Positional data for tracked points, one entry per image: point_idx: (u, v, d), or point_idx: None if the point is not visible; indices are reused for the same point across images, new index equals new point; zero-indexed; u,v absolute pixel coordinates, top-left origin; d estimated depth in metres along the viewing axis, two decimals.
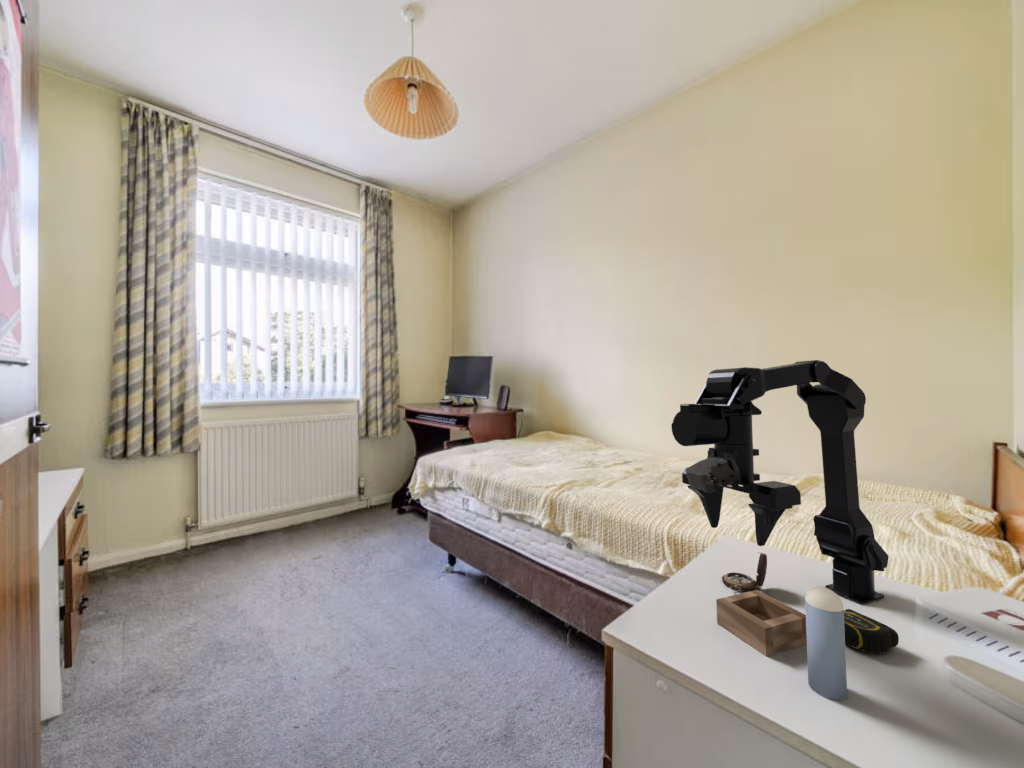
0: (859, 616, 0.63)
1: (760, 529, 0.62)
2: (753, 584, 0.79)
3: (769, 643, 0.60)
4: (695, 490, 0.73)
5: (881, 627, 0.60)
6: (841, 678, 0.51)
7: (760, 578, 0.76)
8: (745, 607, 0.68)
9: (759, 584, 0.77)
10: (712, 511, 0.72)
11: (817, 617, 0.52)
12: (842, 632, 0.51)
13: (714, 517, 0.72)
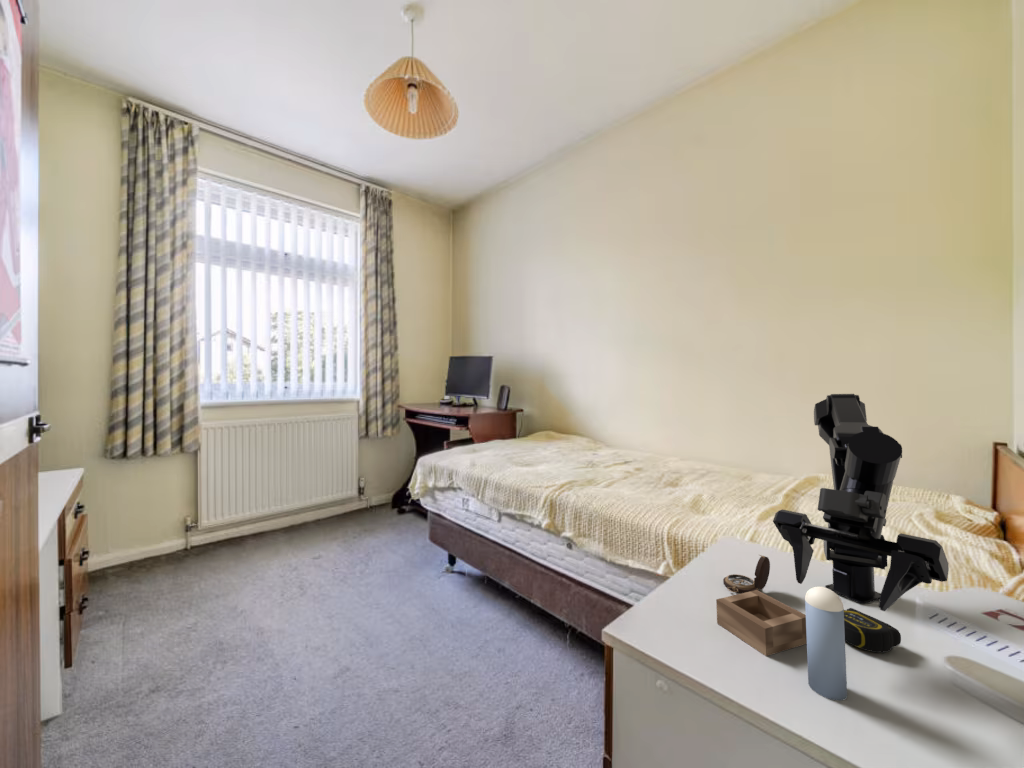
0: (861, 615, 0.63)
1: (893, 586, 0.51)
2: (753, 587, 0.78)
3: (769, 643, 0.60)
4: (794, 530, 0.62)
5: (883, 626, 0.60)
6: (841, 678, 0.51)
7: (758, 580, 0.75)
8: (745, 607, 0.68)
9: (758, 587, 0.76)
10: (803, 563, 0.60)
11: (817, 617, 0.52)
12: (842, 632, 0.51)
13: (803, 571, 0.60)
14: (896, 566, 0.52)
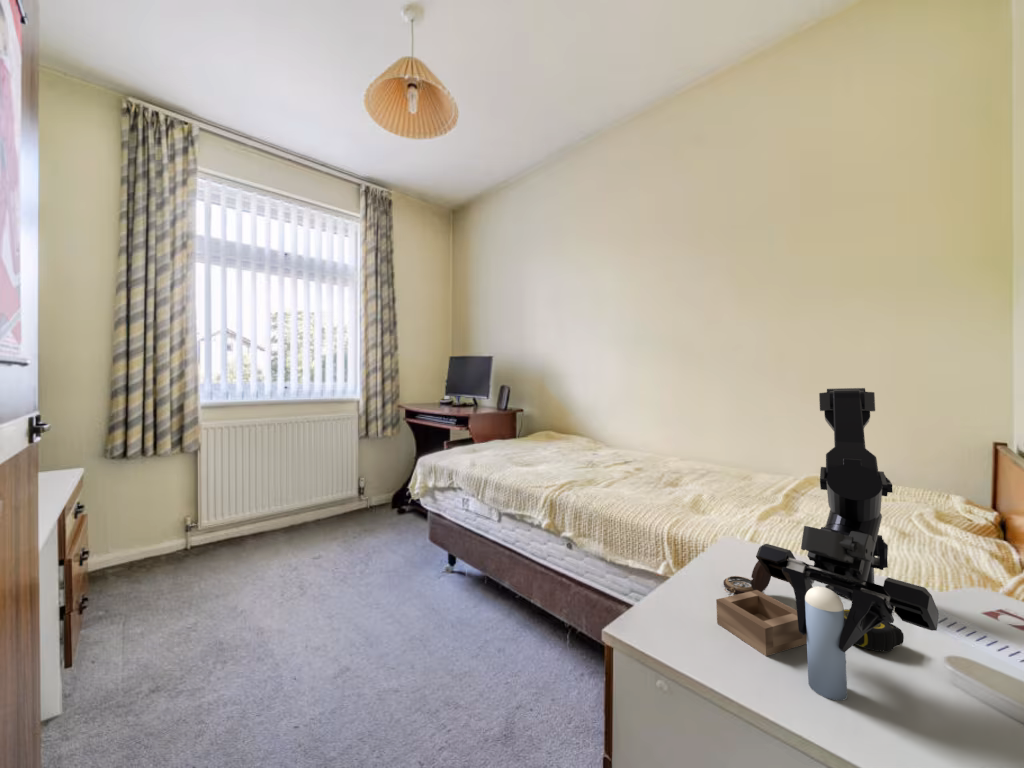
0: None
1: (853, 627, 0.50)
2: (752, 589, 0.77)
3: (769, 643, 0.60)
4: (797, 574, 0.57)
5: (886, 625, 0.60)
6: (841, 677, 0.51)
7: (754, 583, 0.74)
8: (745, 607, 0.68)
9: (755, 589, 0.75)
10: None
11: (817, 617, 0.52)
12: None
13: None
14: (857, 605, 0.51)
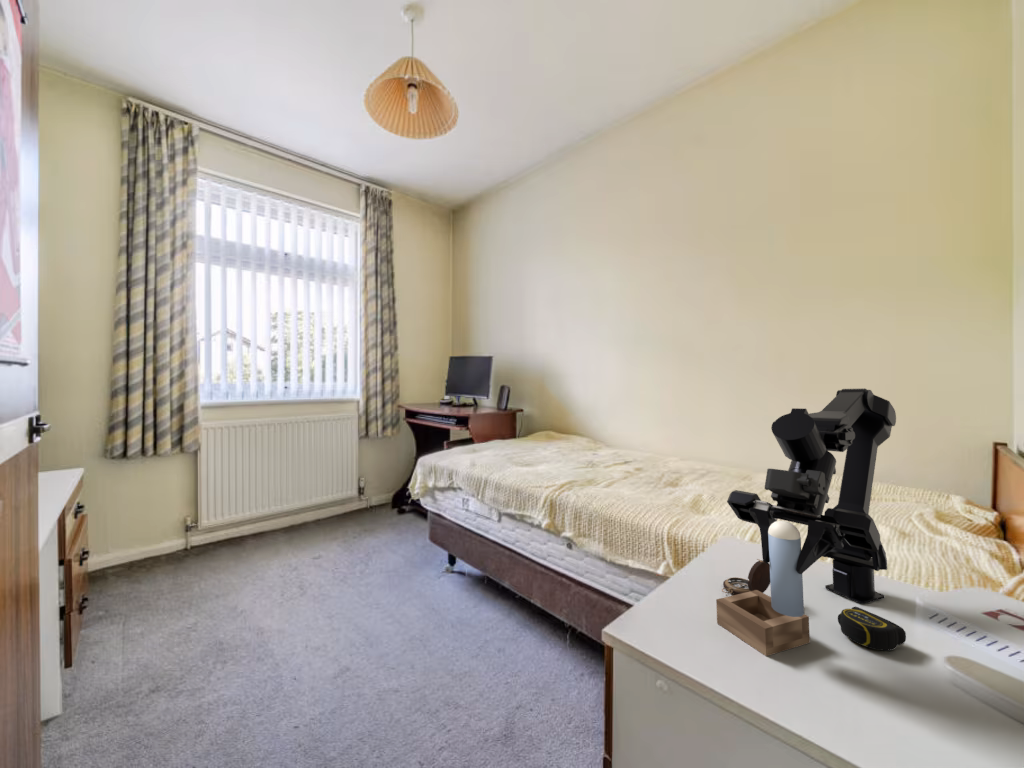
0: (866, 614, 0.64)
1: (808, 552, 0.57)
2: None
3: (769, 643, 0.60)
4: (761, 513, 0.64)
5: (888, 624, 0.61)
6: (798, 597, 0.58)
7: (751, 584, 0.74)
8: (745, 607, 0.68)
9: None
10: None
11: (778, 546, 0.59)
12: None
13: None
14: (812, 534, 0.58)
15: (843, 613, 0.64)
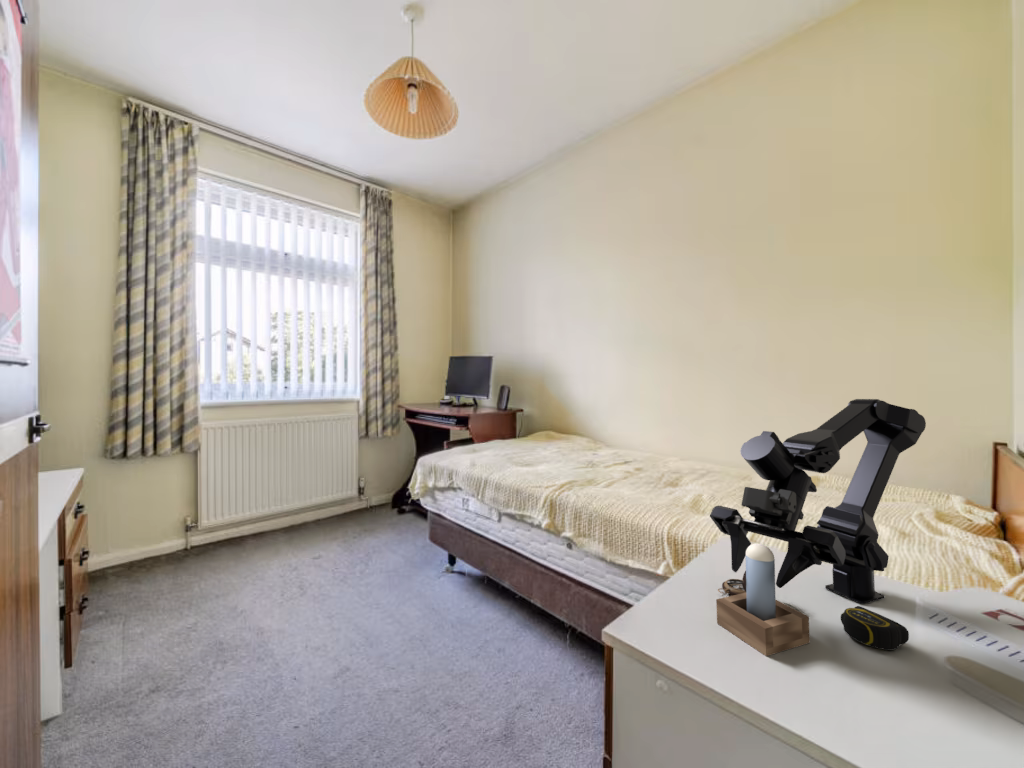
0: (869, 613, 0.64)
1: (788, 567, 0.62)
2: None
3: (769, 643, 0.60)
4: (732, 525, 0.70)
5: (891, 624, 0.61)
6: (770, 615, 0.63)
7: (745, 585, 0.74)
8: (745, 607, 0.68)
9: None
10: (739, 554, 0.68)
11: (753, 566, 0.64)
12: (772, 578, 0.64)
13: (738, 561, 0.68)
14: (791, 550, 0.62)
15: (846, 612, 0.64)
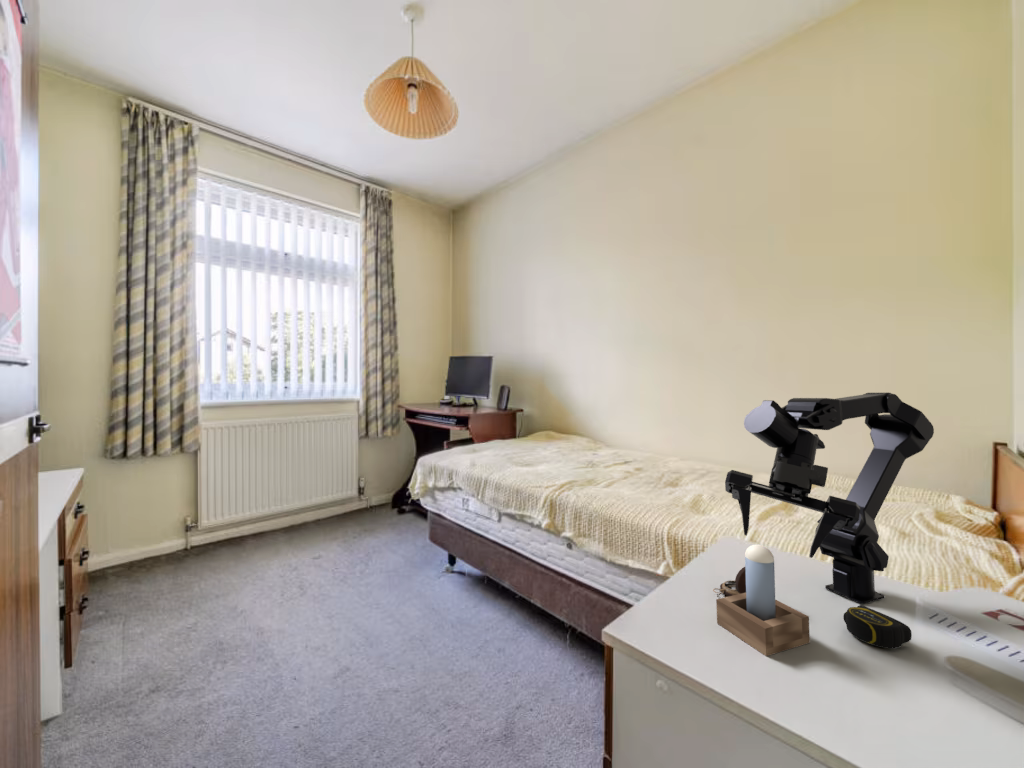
0: (872, 612, 0.64)
1: (822, 540, 0.64)
2: None
3: (769, 643, 0.60)
4: (745, 492, 0.70)
5: (894, 623, 0.61)
6: (770, 615, 0.63)
7: (737, 586, 0.73)
8: (745, 607, 0.68)
9: (740, 593, 0.74)
10: None
11: (752, 568, 0.64)
12: (772, 579, 0.63)
13: (748, 524, 0.70)
14: (825, 523, 0.64)
15: (849, 611, 0.64)
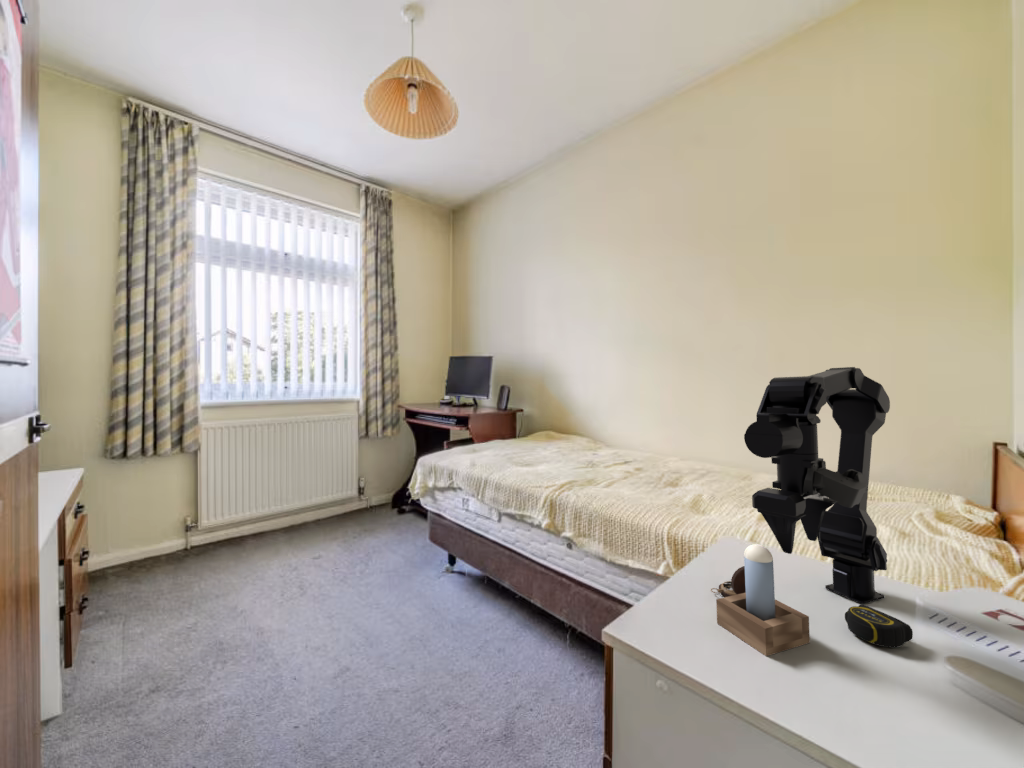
0: (873, 611, 0.64)
1: (820, 523, 0.69)
2: None
3: (769, 643, 0.60)
4: (802, 517, 0.61)
5: (895, 622, 0.61)
6: (770, 615, 0.63)
7: (733, 586, 0.73)
8: (745, 607, 0.68)
9: (736, 594, 0.73)
10: None
11: (751, 568, 0.64)
12: (771, 579, 0.63)
13: None
14: (825, 509, 0.69)
15: (850, 611, 0.64)
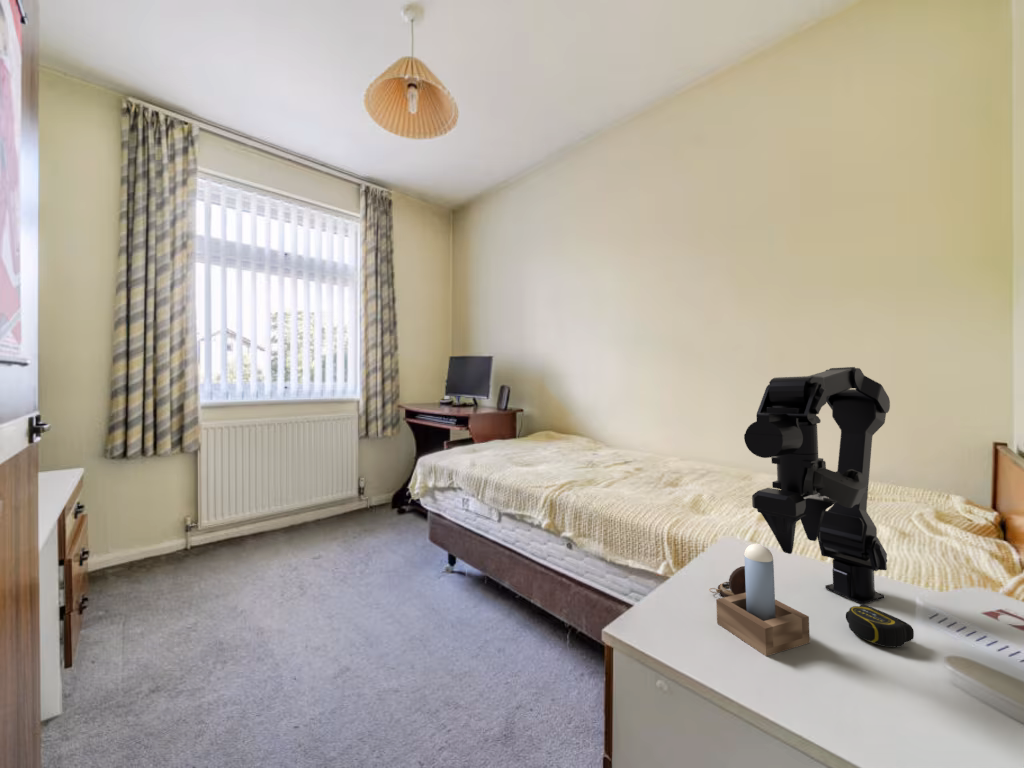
0: (874, 611, 0.64)
1: (820, 523, 0.69)
2: None
3: (769, 643, 0.60)
4: (802, 517, 0.61)
5: (896, 621, 0.61)
6: (770, 615, 0.63)
7: (731, 587, 0.73)
8: (745, 607, 0.68)
9: (734, 594, 0.73)
10: None
11: (752, 567, 0.64)
12: (771, 579, 0.63)
13: None
14: (825, 509, 0.69)
15: (851, 610, 0.64)
